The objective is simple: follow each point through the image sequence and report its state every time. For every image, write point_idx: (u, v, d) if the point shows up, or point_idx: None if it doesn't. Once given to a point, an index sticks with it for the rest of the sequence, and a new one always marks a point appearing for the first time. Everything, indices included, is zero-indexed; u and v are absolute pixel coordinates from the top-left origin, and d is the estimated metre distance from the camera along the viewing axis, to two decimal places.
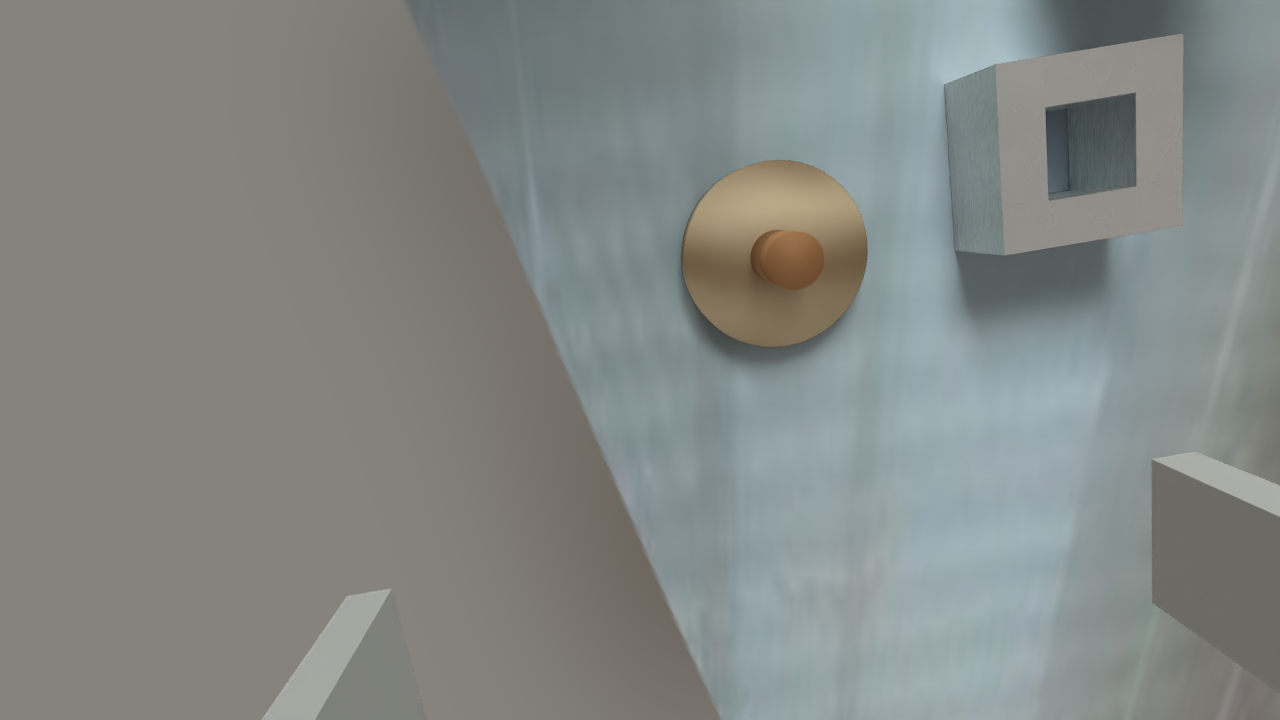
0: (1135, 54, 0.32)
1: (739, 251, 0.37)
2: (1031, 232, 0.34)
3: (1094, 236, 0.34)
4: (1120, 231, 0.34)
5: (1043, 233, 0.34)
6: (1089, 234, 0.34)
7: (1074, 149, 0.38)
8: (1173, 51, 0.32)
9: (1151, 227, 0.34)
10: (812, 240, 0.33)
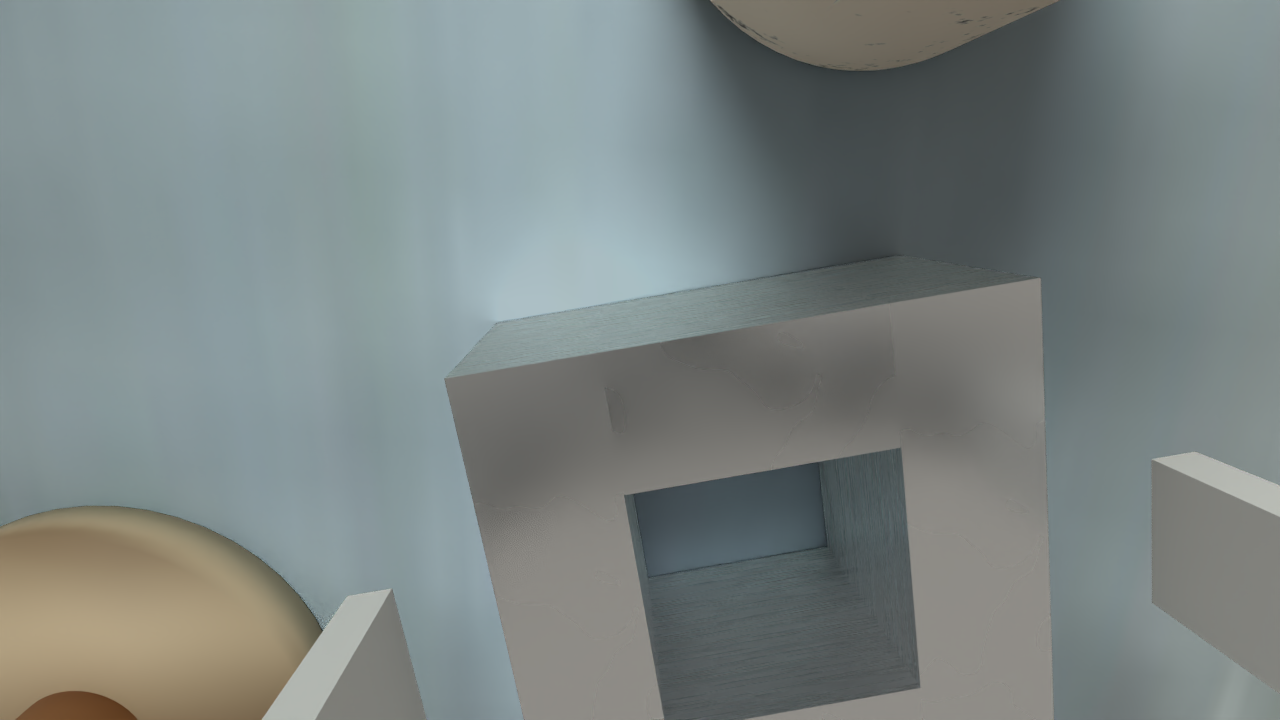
0: (892, 340, 0.10)
1: None
2: None
3: None
4: None
5: None
6: None
7: (825, 471, 0.16)
8: (1011, 330, 0.10)
9: None
10: None
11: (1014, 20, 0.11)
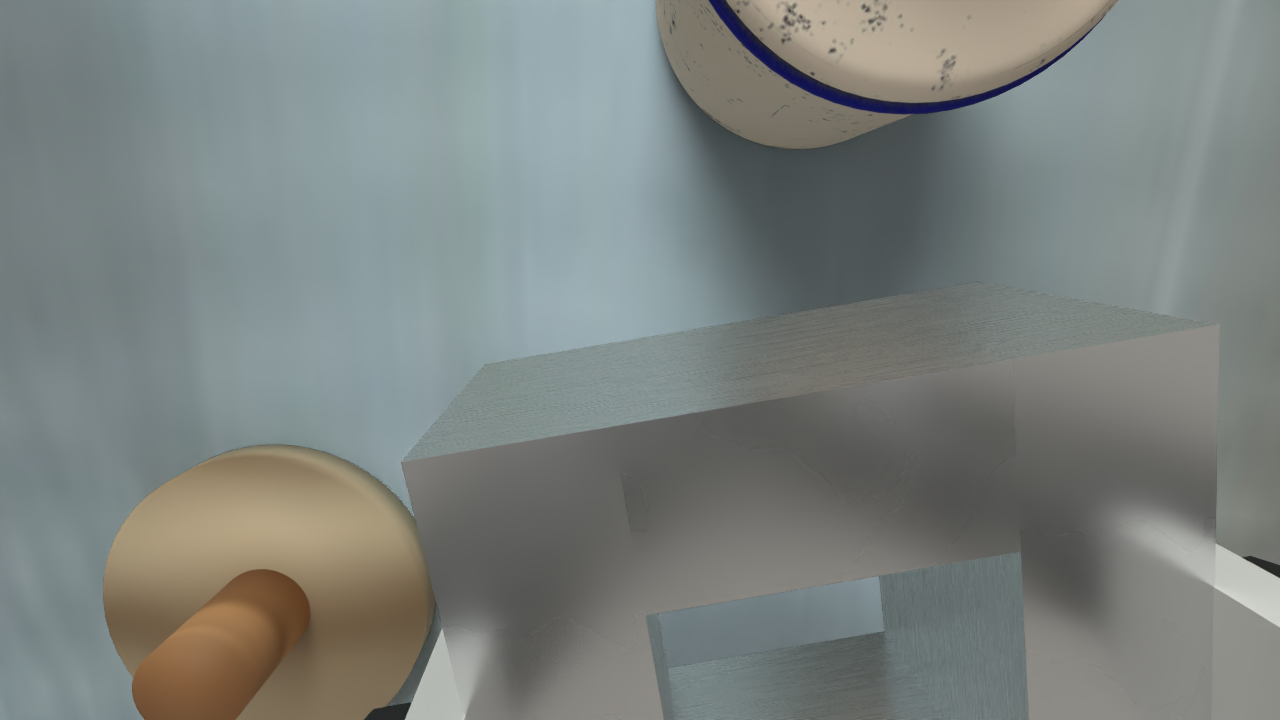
0: (1013, 408, 0.08)
1: (200, 602, 0.22)
2: None
3: None
4: None
5: None
6: None
7: None
8: (1176, 396, 0.08)
9: None
10: (212, 659, 0.18)
11: None
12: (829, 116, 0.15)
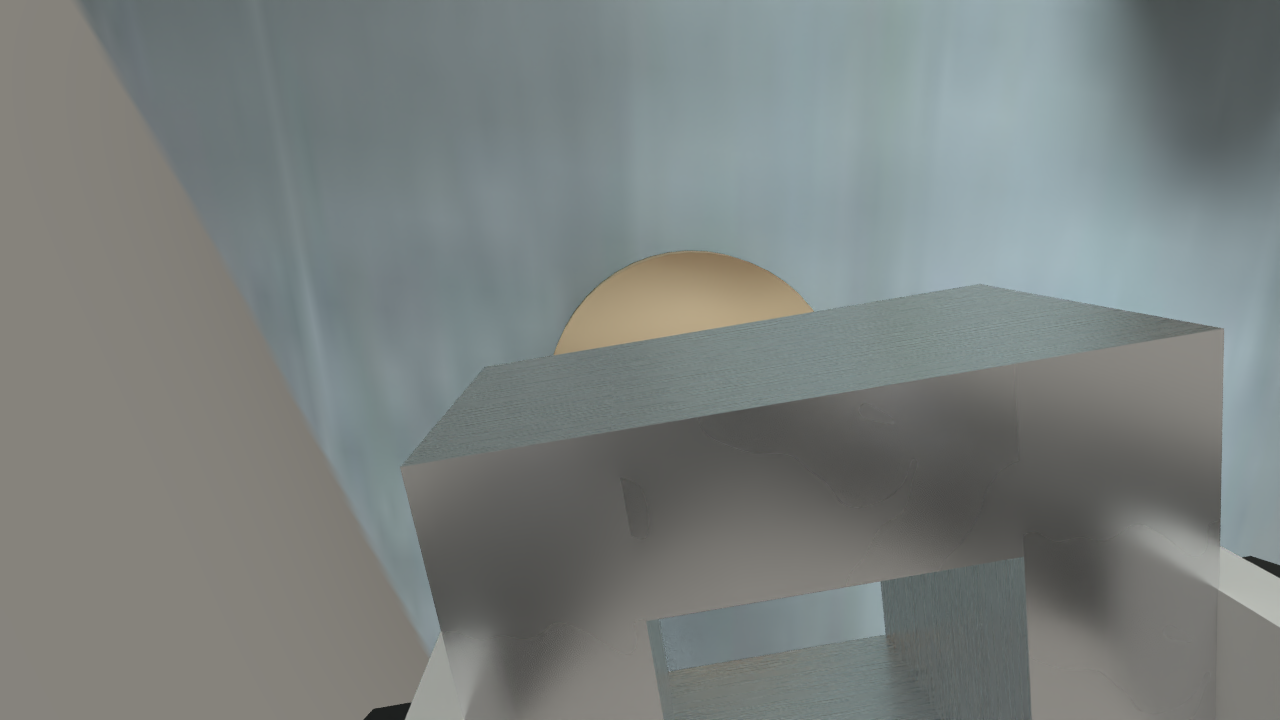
0: (1016, 412, 0.08)
1: None
2: None
3: None
4: None
5: None
6: None
7: None
8: (1180, 400, 0.08)
9: None
10: None
11: None
12: None
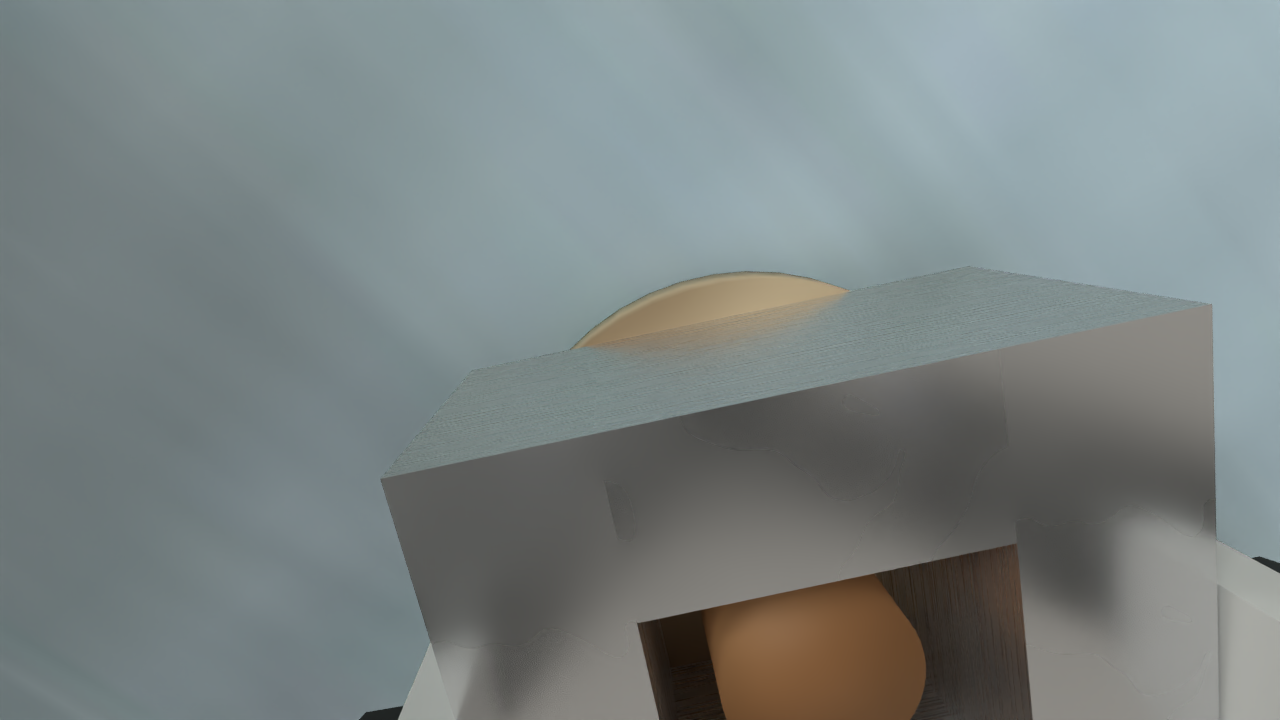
0: (1002, 398, 0.07)
1: None
2: None
3: None
4: None
5: None
6: None
7: None
8: (1170, 379, 0.07)
9: None
10: (816, 599, 0.09)
11: None
12: None
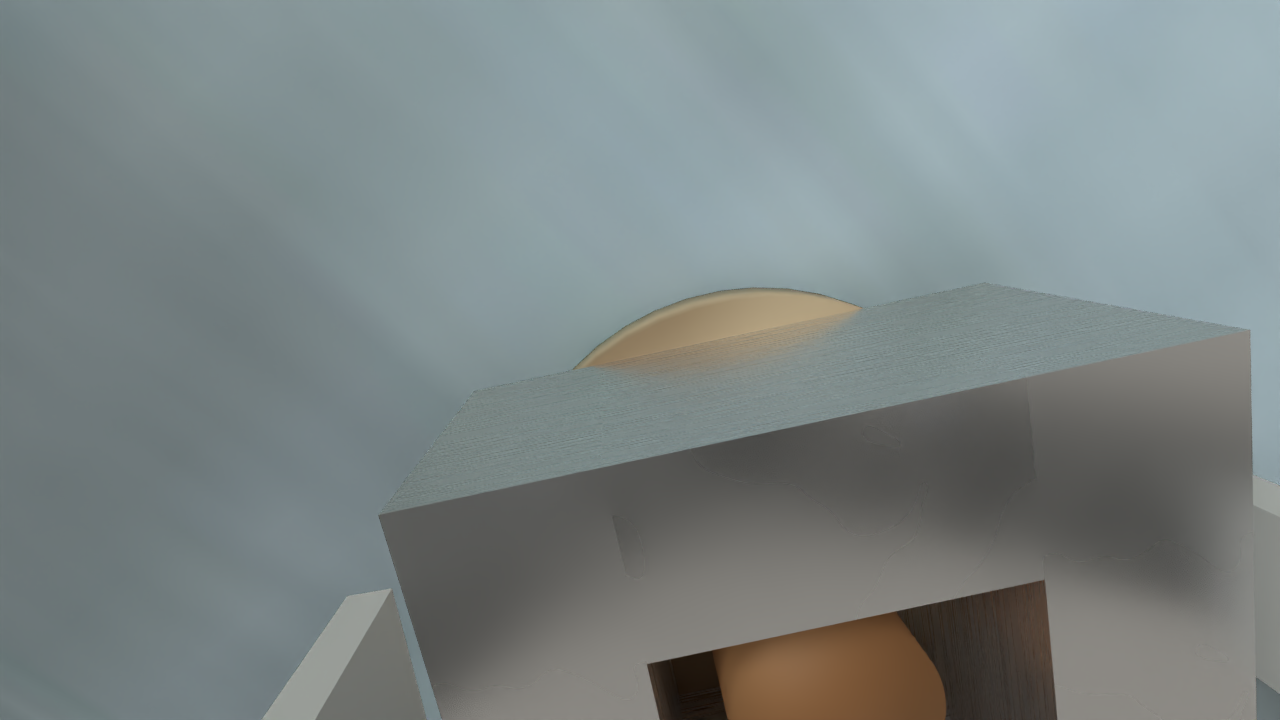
0: (1030, 429, 0.07)
1: None
2: None
3: None
4: None
5: None
6: None
7: None
8: (1206, 408, 0.07)
9: None
10: (832, 635, 0.09)
11: None
12: None
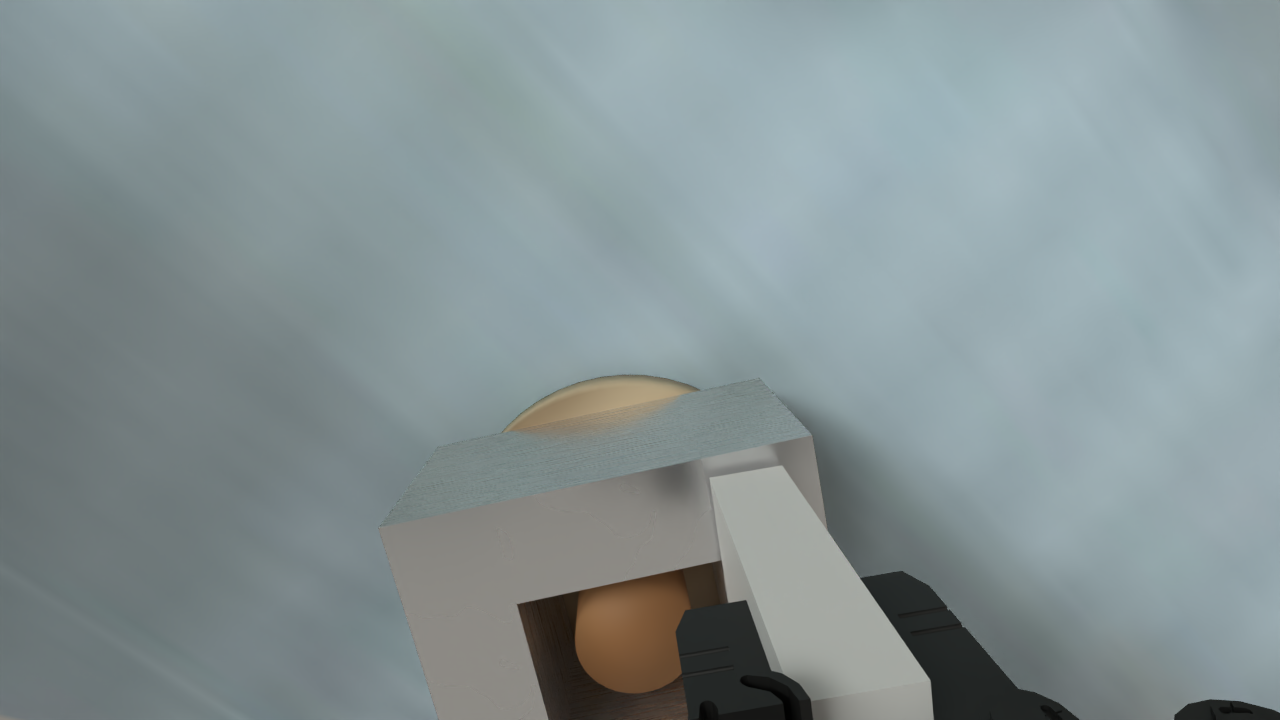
0: (706, 484, 0.14)
1: (574, 595, 0.20)
2: None
3: None
4: None
5: None
6: None
7: None
8: (795, 473, 0.14)
9: None
10: (628, 592, 0.16)
11: None
12: None
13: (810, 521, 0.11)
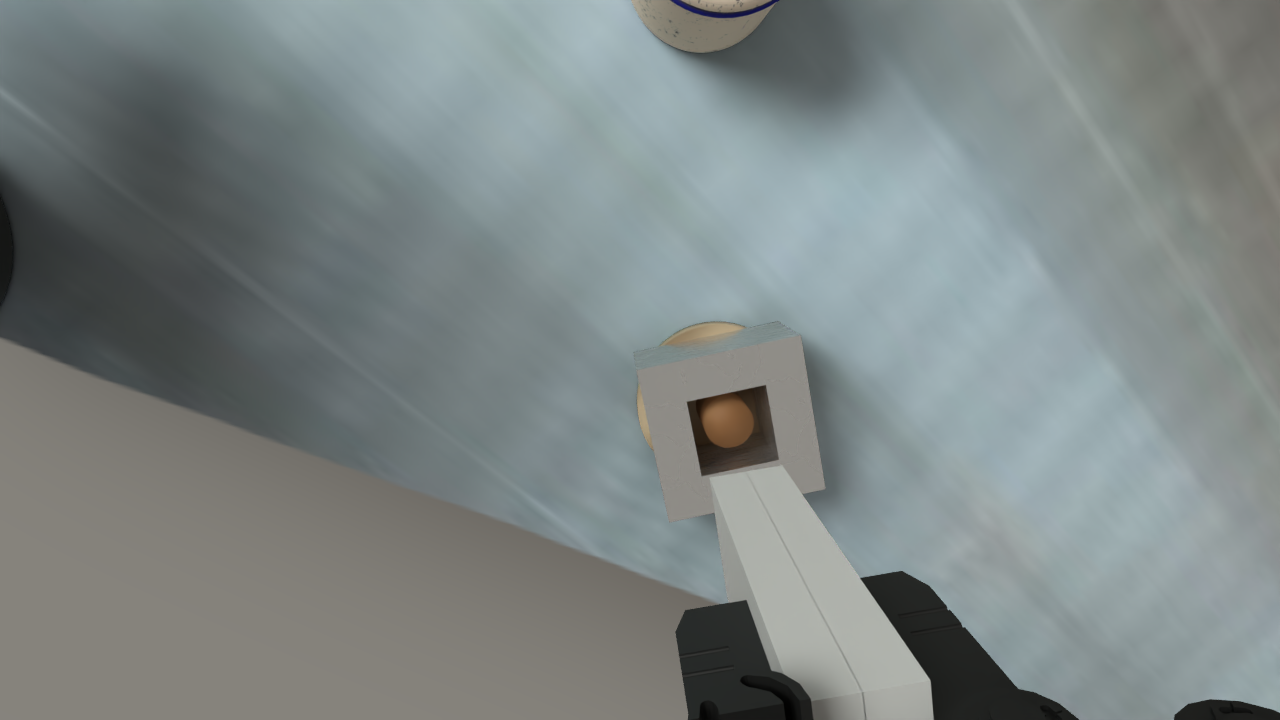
0: (760, 354, 0.37)
1: (691, 424, 0.43)
2: (690, 502, 0.38)
3: None
4: None
5: (701, 502, 0.38)
6: None
7: (755, 401, 0.42)
8: (794, 350, 0.37)
9: None
10: (726, 403, 0.38)
11: None
12: (766, 9, 0.34)
13: (810, 521, 0.11)
